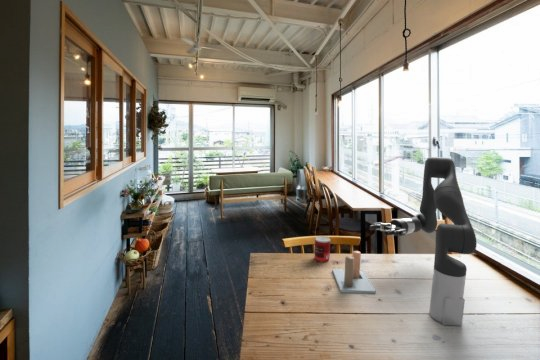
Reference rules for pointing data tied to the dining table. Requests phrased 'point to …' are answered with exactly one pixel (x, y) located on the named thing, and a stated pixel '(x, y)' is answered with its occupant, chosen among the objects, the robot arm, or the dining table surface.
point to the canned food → (322, 249)
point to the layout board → (358, 282)
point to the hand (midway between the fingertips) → (377, 230)
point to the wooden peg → (356, 264)
